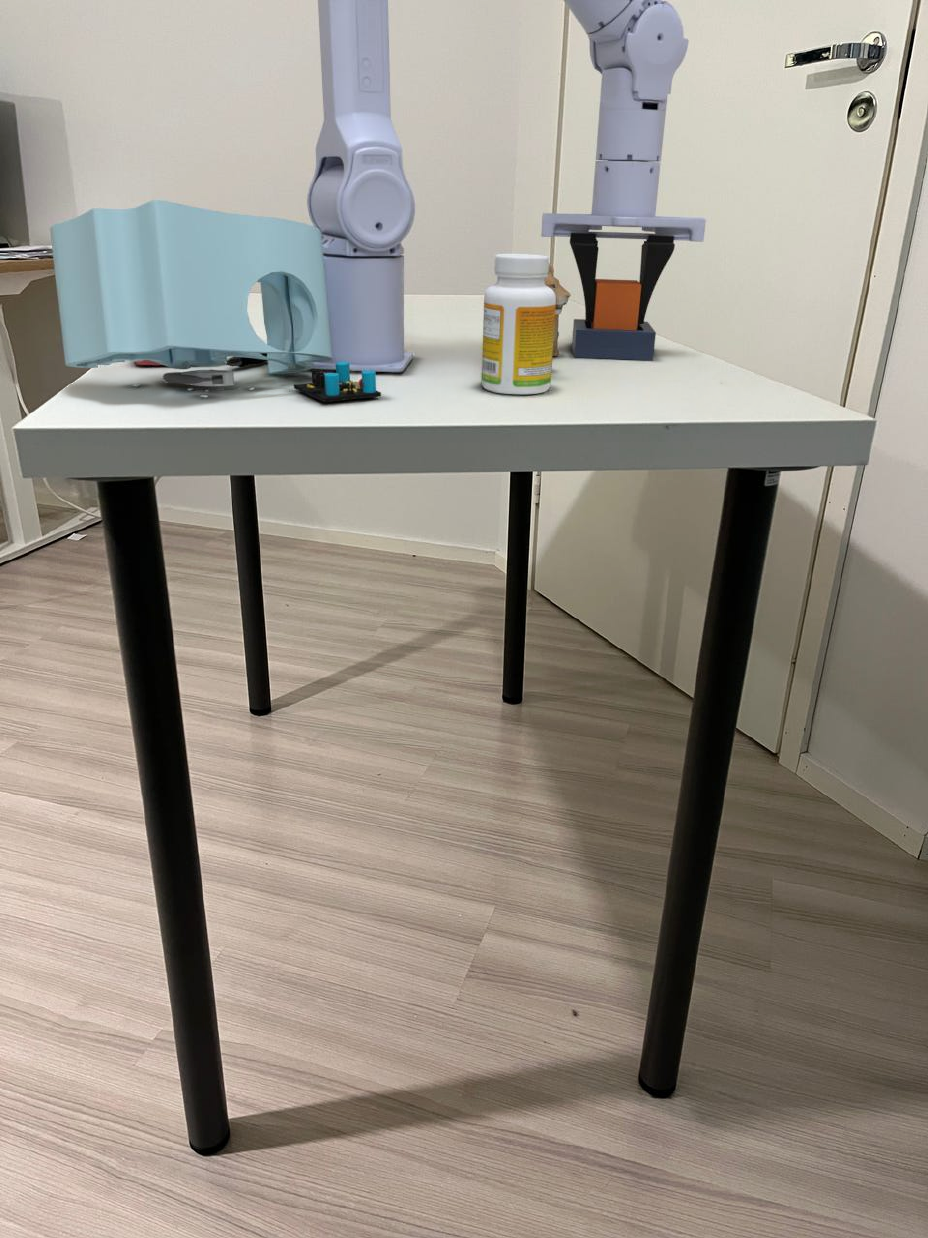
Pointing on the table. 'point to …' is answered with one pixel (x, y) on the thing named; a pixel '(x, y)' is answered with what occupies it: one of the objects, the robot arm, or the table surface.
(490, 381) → the supplement bottle
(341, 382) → the circuit board
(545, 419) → the table surface
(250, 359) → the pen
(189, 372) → the grey piece
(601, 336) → the blue square tray
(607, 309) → the orange rectangular block
